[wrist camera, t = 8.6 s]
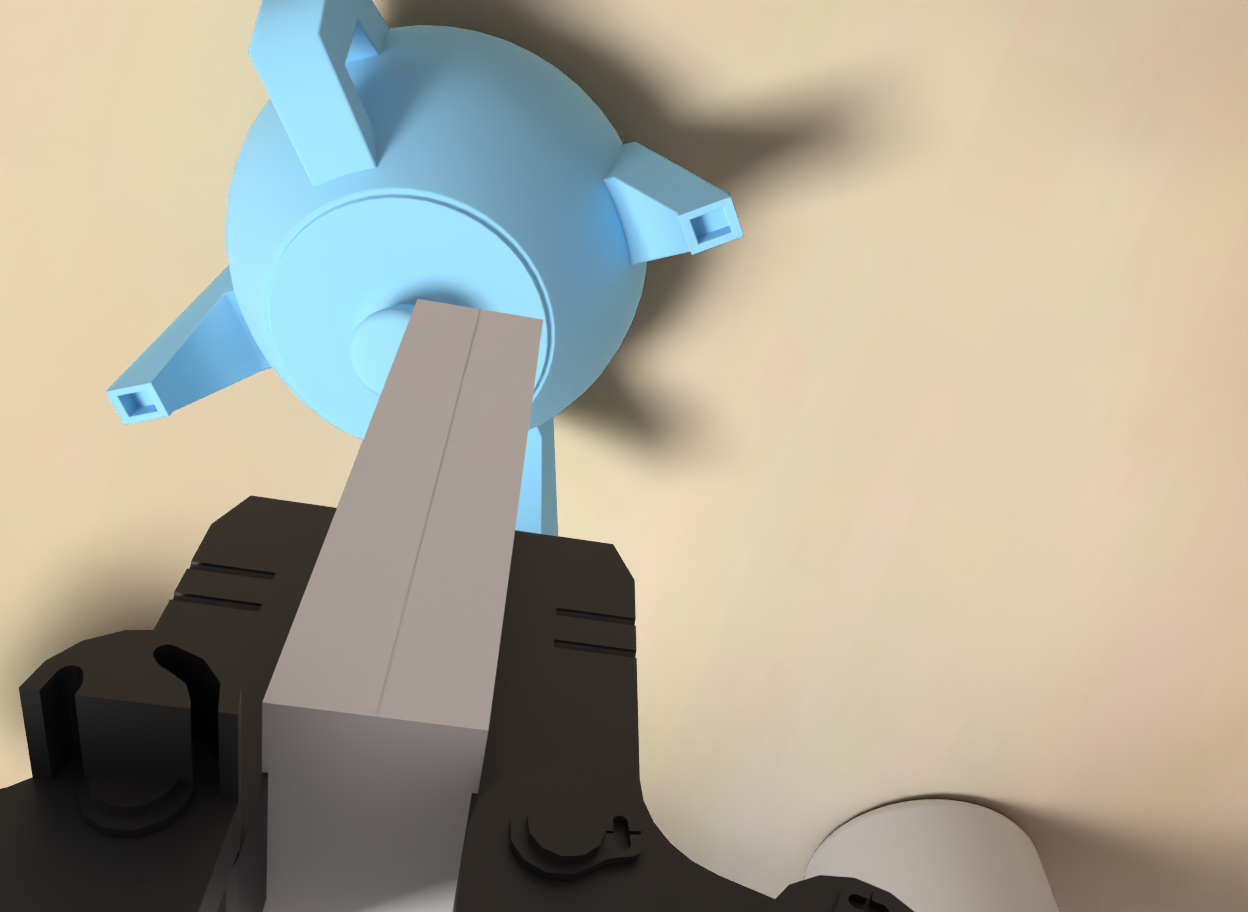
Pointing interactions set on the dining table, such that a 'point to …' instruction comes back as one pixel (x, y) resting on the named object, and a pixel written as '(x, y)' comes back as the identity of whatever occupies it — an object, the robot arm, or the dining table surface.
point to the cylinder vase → (939, 858)
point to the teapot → (422, 222)
